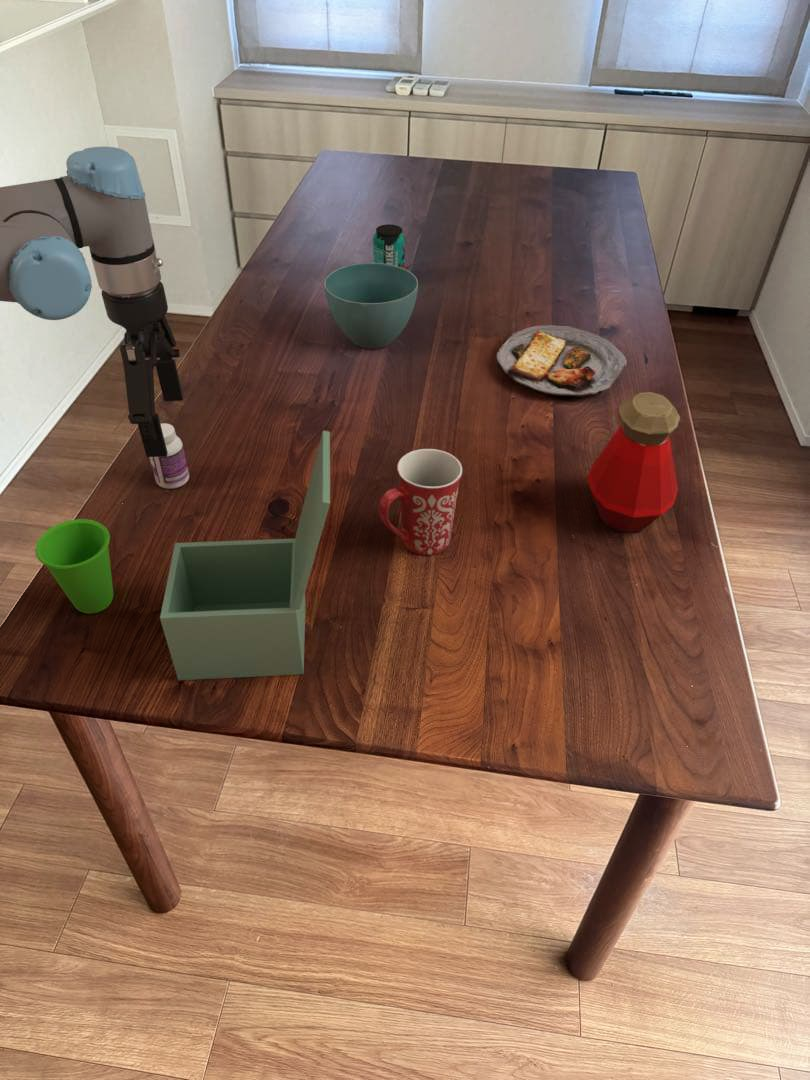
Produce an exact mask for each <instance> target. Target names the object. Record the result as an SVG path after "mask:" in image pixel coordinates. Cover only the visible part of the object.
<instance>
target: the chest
mask: <svg viewBox="0 0 810 1080" xmlns="http://www.w3.org/2000/svg"><path fill="white" fill-rule="evenodd" d="M295 544H296V538H274V539H246V540H244V539H243V540H221V541H219V540H218V541H216V540H215V541H193V542H192V541H191V542H175V543H174V546H173V551H172V557H171V561H170V566H169V571H168V575H167V581H166V586H165V590H164V595H163V602H162V606H161V611H160V616H159V620H160V623H161V627H162V631H163V634H164V637H165V640H166V643H167V647H168V650H169V654H170V658H171V661H172V664H173V667H174V670H175V671H174V672H175V674H176V678H177V680H178V681H194V680H195V681H196V680H215V679H233V678H235V679H236V678H255V677H276V676H296V675H300V676H301V675H304V674H305V638H306V637H305V636H306V592H305V593H304V596H303V600H302V603H301V607H300V610H297V609H293V593H294V568H295Z"/></svg>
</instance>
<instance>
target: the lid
mask: <svg viewBox="0 0 810 1080" xmlns="http://www.w3.org/2000/svg"><path fill="white" fill-rule="evenodd" d="M330 435H331V433H330V431H328V430H322V432H321V436H320V440H319V444H318V448H317V451H316V455H315V460H314V463H313V466H312V470H311V475H310V479H309V482H308V487H307V490H306V494H305V498H304V501H303V505H302V509H301V513H300V518H299V521H298V524H297V525H298V526H297V529H296V533H295V539H296V544H295V568H294V593H293V609H297V610H300V607H301V603H302V600H303V596H304V593H305V594H306V589H307V586H308V582H309V579H310V576H311V571H312V568H313V564H314V561H315V558H316V553H317V550H318V547H319V544H320V541H321V537H322V534H323V530H324V527H325V523H326V519H327V515H328V512H329V509H330V505H331V440H330V439H331V437H330Z"/></svg>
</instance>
